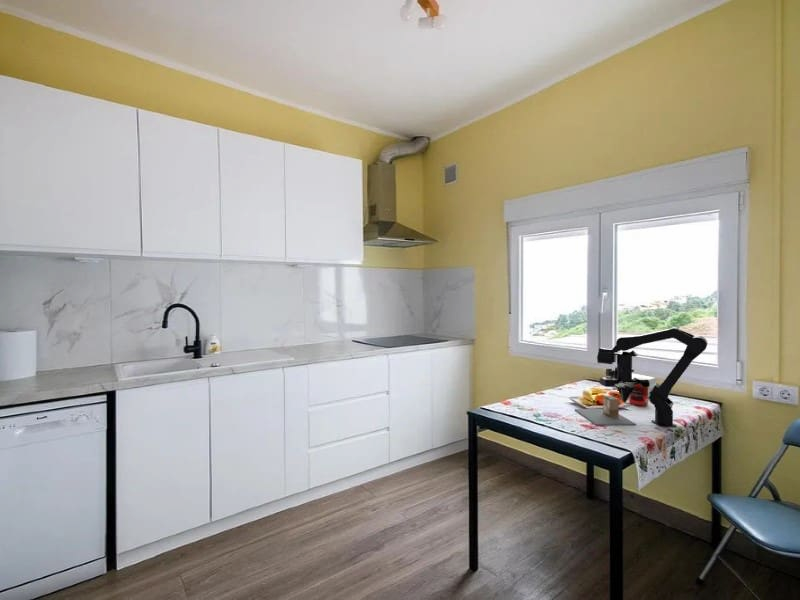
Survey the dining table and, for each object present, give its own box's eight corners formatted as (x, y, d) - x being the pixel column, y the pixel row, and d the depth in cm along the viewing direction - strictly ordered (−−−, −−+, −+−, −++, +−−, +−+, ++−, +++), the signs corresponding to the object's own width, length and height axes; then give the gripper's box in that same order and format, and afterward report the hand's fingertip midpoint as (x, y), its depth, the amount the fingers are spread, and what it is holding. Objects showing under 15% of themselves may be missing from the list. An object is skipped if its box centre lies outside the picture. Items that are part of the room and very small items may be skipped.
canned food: (642, 401, 197) (642, 379, 196) (651, 406, 189) (651, 383, 188) (626, 401, 197) (626, 379, 197) (633, 406, 189) (634, 383, 189)
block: (618, 418, 171) (618, 399, 171) (609, 418, 171) (610, 399, 171) (611, 413, 177) (611, 395, 177) (602, 413, 177) (602, 395, 177)
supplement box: (630, 390, 220) (630, 372, 219) (656, 395, 208) (656, 377, 208) (611, 394, 211) (611, 376, 211) (636, 400, 200) (636, 381, 199)
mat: (635, 425, 164) (635, 423, 164) (596, 425, 164) (596, 423, 164) (610, 410, 184) (610, 408, 184) (574, 410, 184) (574, 409, 184)
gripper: (635, 362, 181) (635, 396, 182) (593, 362, 182) (593, 396, 182) (650, 367, 170) (650, 404, 171) (606, 367, 170) (605, 404, 171)
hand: (623, 401), depth 174 cm, fingers closed
